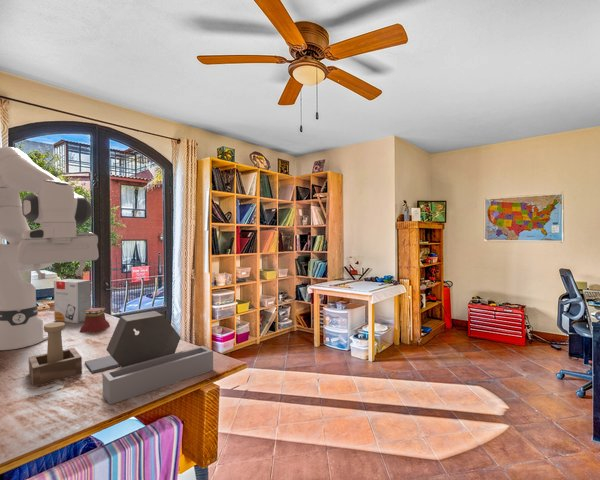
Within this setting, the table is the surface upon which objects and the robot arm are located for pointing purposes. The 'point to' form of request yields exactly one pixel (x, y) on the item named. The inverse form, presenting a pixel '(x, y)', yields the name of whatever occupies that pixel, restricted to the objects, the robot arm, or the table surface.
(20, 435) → the table surface
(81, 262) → the robot arm
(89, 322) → the red drawstring pouch
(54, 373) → the block
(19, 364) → the table surface
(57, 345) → the handle
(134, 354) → the planter
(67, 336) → the table surface
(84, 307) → the hard drive box
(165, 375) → the tray
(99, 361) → the mat
